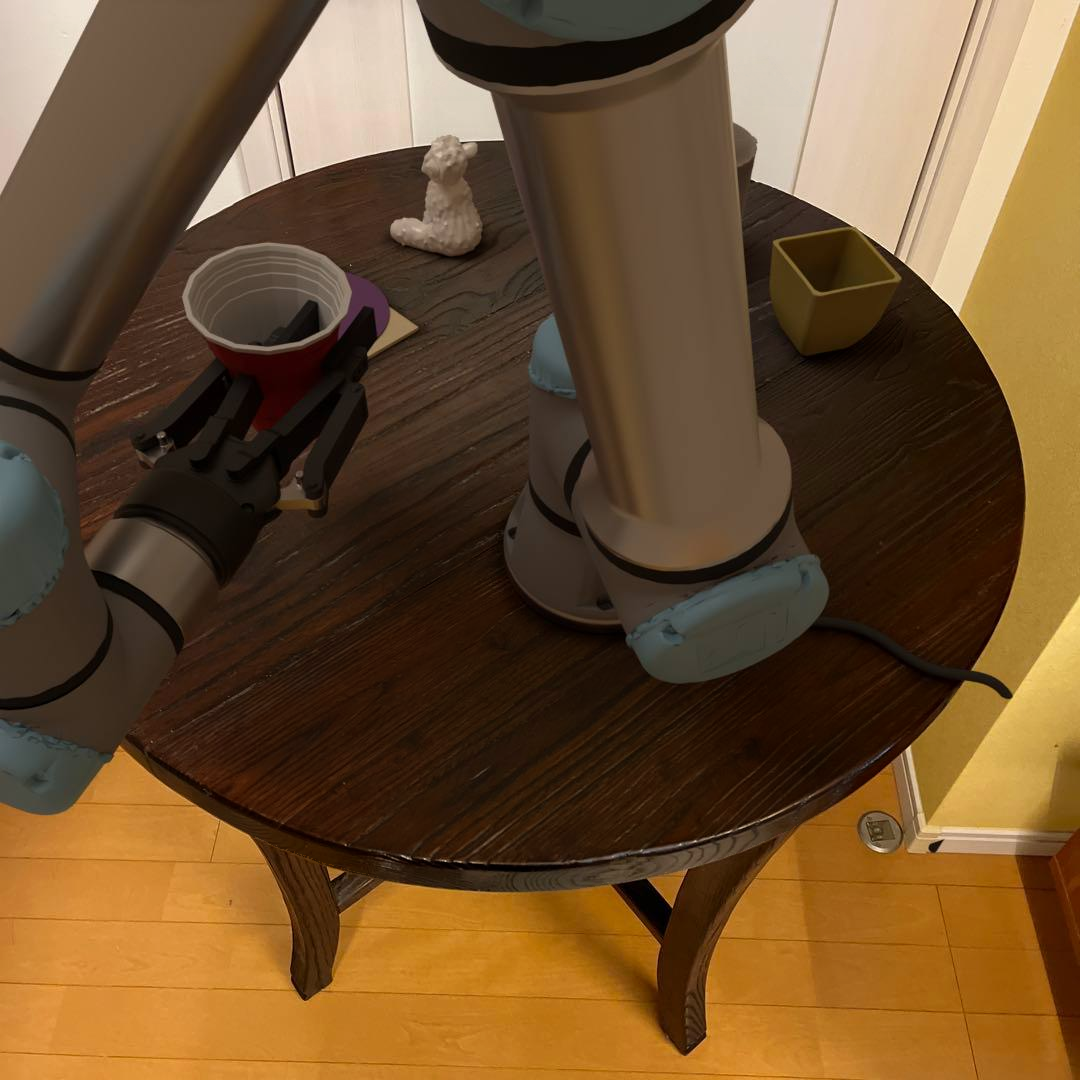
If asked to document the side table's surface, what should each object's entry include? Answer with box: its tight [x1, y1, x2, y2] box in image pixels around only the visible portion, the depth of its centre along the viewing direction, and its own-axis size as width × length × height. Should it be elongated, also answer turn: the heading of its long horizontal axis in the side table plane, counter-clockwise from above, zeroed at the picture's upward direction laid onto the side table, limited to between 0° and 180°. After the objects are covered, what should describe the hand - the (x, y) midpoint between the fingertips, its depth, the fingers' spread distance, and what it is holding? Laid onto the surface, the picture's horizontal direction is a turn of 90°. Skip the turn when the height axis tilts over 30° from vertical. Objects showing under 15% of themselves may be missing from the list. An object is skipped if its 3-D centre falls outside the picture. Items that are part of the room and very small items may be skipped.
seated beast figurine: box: [389, 134, 484, 257], centre depth 107 cm, size 10×9×12 cm
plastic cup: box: [181, 242, 352, 441], centre depth 74 cm, size 11×11×12 cm
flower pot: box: [769, 226, 902, 357], centre depth 99 cm, size 9×9×9 cm
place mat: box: [338, 271, 420, 361], centre depth 102 cm, size 16×15×1 cm
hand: (345, 316), depth 76 cm, fingers closed on plastic cup, 3 cm apart
